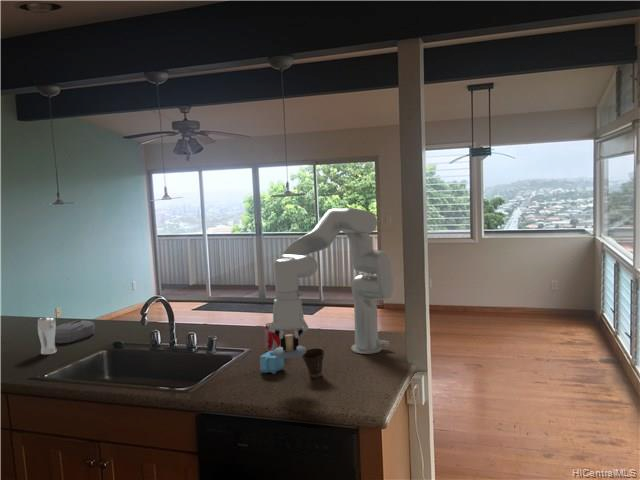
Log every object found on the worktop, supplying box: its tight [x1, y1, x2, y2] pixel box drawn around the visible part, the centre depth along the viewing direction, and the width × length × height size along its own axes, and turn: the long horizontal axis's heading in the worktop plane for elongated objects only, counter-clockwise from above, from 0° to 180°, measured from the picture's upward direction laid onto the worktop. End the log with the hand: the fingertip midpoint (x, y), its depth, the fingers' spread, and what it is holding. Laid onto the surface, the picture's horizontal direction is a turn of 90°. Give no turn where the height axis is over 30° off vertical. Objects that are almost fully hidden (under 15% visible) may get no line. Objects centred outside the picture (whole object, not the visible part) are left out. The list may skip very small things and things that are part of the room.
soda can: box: [263, 322, 281, 353], centre depth 209 cm, size 7×7×12 cm
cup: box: [301, 348, 325, 379], centre depth 179 cm, size 8×8×9 cm
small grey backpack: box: [55, 319, 96, 344], centre depth 239 cm, size 15×8×20 cm
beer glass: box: [37, 316, 58, 356], centre depth 216 cm, size 7×7×15 cm
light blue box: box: [259, 351, 285, 375], centre depth 187 cm, size 12×6×8 cm, turn 156°
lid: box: [274, 333, 307, 359], centre depth 169 cm, size 11×11×6 cm
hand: (289, 348), depth 169 cm, fingers closed on lid, 3 cm apart
